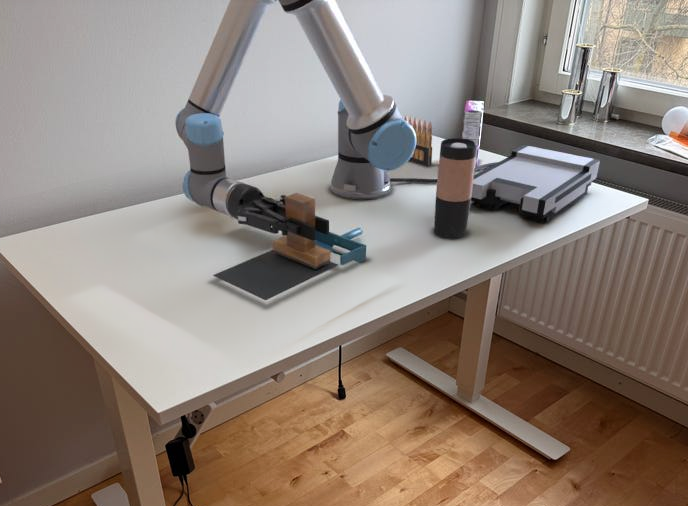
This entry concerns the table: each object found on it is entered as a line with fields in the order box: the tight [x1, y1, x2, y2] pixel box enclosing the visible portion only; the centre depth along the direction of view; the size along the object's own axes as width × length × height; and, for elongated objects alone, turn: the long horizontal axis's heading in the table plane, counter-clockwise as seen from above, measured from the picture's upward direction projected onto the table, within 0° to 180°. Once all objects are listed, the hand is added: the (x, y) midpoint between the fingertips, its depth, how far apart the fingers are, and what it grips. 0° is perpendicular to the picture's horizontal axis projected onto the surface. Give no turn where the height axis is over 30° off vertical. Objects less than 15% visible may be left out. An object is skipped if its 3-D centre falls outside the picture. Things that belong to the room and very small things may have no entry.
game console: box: [471, 144, 601, 224], centre depth 172 cm, size 21×32×8 cm, turn 142°
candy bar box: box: [461, 100, 485, 169], centre depth 193 cm, size 11×5×16 cm, turn 168°
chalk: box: [332, 245, 350, 255], centre depth 147 cm, size 1×5×1 cm
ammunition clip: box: [403, 115, 433, 167], centre depth 197 cm, size 11×2×12 cm, turn 43°
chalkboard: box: [212, 249, 339, 301], centre depth 139 cm, size 20×15×2 cm
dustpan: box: [315, 227, 367, 266], centre depth 149 cm, size 15×16×3 cm
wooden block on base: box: [272, 192, 332, 269], centre depth 139 cm, size 4×12×12 cm, turn 48°
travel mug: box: [433, 137, 477, 240], centre depth 152 cm, size 8×8×20 cm
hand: (320, 230), depth 135 cm, fingers closed on wooden block on base, 3 cm apart
